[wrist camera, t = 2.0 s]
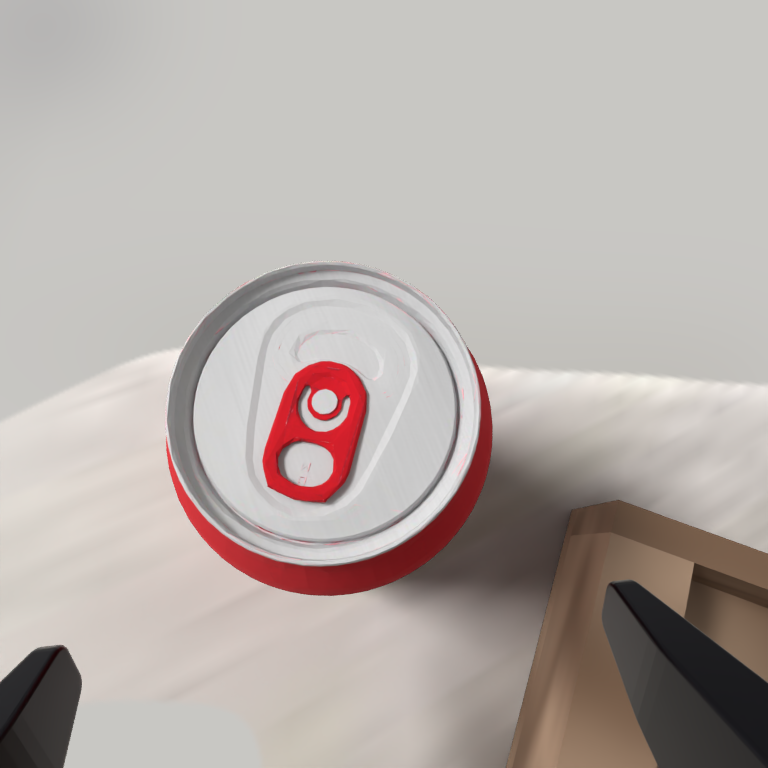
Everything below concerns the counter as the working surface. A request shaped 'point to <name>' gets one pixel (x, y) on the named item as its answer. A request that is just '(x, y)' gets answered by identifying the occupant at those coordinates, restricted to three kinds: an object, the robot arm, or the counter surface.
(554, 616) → the walnut caddy
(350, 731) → the counter surface
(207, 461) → the beverage can
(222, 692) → the counter surface
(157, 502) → the counter surface
